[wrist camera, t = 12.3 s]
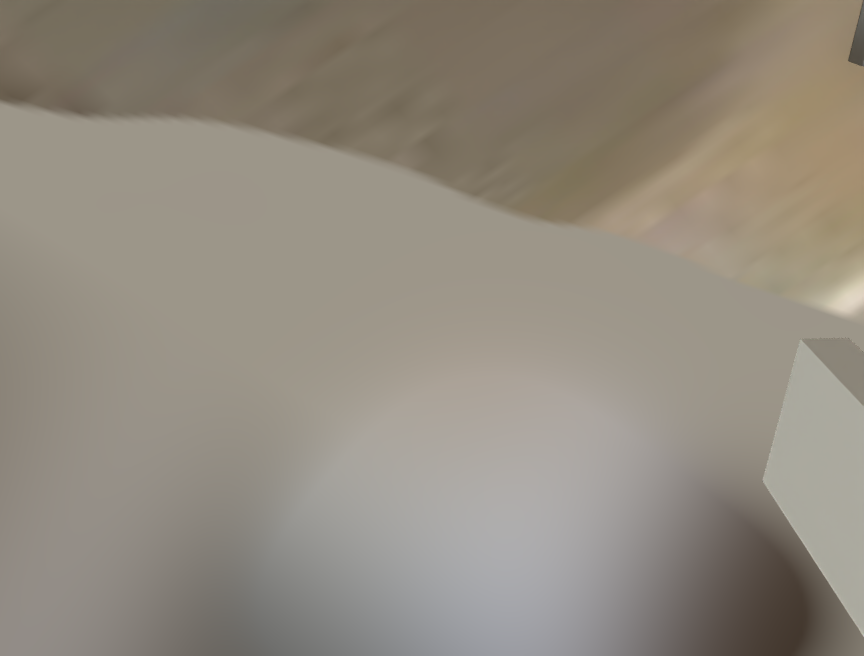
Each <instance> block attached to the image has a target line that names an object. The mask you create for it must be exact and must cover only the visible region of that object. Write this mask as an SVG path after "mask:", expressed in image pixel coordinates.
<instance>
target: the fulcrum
mask: <svg viewBox="0 0 864 656" xmlns="http://www.w3.org/2000/svg"><path fill="white" fill-rule="evenodd" d="M849 62H852V63H855V64H857V65H860V66H864V1H863V5H862V9H861V13H860V17H859V21H858V25H857V29H856V33H855V37H854V41H853V45H852V49H851V53H850V57H849Z"/></svg>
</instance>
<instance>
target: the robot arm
mask: <svg viewBox="0 0 864 656" xmlns="http://www.w3.org/2000/svg"><path fill="white" fill-rule="evenodd" d="M763 482H764V484H765V485H766V487H767V488H768V490H769V492H770V493H771V495H772V496H773V498H774V499H775V501H776V502H777V504H778V505H779V507H780V509H781V510H782V512H783V513H784V515H785V516H786V518H787V519H788V521H789V522H790V524H791V526H792V527H793V529H794V530H795V532H796V533H797V535H798V536H799V538H800V539H801V540H802V542H803V544H804V545H805V547H806V549H807V550H808V552H809V553H810V555H811V556H812V557H813V559H814V561H815V563H816V564H817V565H818V567H819V569H820V570H821V572H822V573H823V575H824V576H825V578H826V579H827V581H828V583H829V584H830V586H831V587H832V589H833V590H834V592H835V593H836V595H837V596H838V598H839V600H840V601H841V603H842V604H843V605H844V607H845V609H846V610H847V612H848V613H849V615H850V616H851V618H852V619H853V621H854V622H855V624H856V626H857V627H858V629H859V630H860V631H861V633H862V635H863V636H864V352H863V351H862V350H861V349H860V348H859V347H858V346H856V345H855V344H854V343H853V342H852V341H851V340H850V339H849V338H829V339H828V338H826V339H825V338H824V339H800V343H799V346H798V350H797V354H796V358H795V361H794V365H793V369H792V373H791V376H790V380H789V384H788V387H787V391H786V395H785V399H784V402H783V406H782V410H781V414H780V418H779V421H778V425H777V429H776V433H775V436H774V440H773V444H772V447H771V451H770V455H769V459H768V462H767V466H766V470H765V474H764V477H763Z"/></svg>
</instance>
